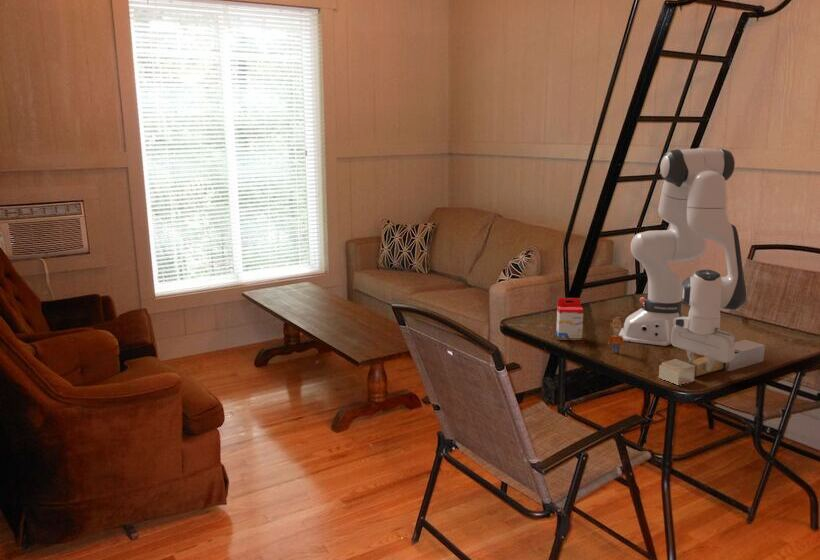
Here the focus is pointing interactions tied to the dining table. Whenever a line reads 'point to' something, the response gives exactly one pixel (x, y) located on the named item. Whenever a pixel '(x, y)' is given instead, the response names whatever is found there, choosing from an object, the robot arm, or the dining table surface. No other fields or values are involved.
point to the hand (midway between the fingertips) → (700, 367)
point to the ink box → (569, 318)
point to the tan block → (701, 361)
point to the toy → (616, 333)
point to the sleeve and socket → (746, 356)
